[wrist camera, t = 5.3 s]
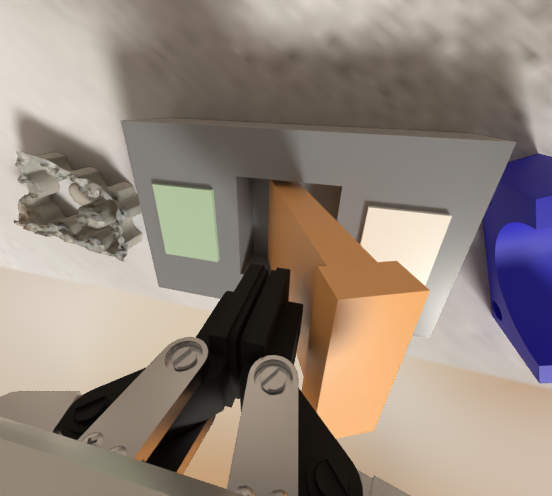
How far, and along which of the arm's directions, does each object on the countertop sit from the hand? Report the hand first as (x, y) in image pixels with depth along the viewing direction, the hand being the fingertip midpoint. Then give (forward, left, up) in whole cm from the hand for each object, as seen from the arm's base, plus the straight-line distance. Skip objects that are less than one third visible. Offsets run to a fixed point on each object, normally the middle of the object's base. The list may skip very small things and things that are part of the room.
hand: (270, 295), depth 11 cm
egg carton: (+17, -11, -11) cm, 23 cm away
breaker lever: (+1, -1, -8) cm, 8 cm away
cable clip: (-12, +9, -11) cm, 19 cm away
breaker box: (0, 0, -11) cm, 11 cm away
